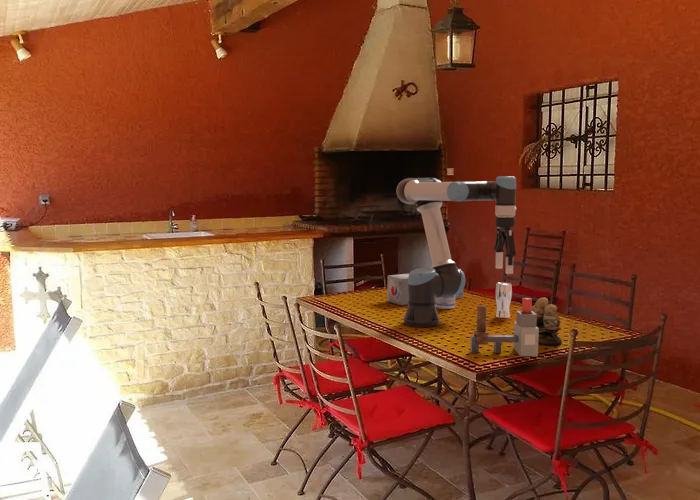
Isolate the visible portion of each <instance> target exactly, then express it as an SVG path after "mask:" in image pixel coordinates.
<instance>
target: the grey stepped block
mask: <svg viewBox="0 0 700 500" xmlns="http://www.w3.org/2000/svg"><path fill="white" fill-rule="evenodd" d="M513 322H514V323H513V335H517V336H518V342H513V350H514V351H515V352H516V353H517V354H518V356H520V357H538V356H539V344H538V337H539V328H538V327H537V326H536V324H537V314H536V313H534V312H533V311H531V314H522V310H516V321H513Z"/></svg>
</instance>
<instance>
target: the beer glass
mask: <svg viewBox="0 0 700 500" xmlns="http://www.w3.org/2000/svg"><path fill="white" fill-rule="evenodd" d="M495 286H496V287H495V301H496V307H497V308H496V314H495V316H496V318H498V319H499V318H500V319H509V318H510V317H511V313H510V305H511V300H512V295H513V290H512V289H513V288H512V283H510V282H497V283H496V284H495Z"/></svg>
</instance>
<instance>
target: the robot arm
mask: <svg viewBox="0 0 700 500" xmlns="http://www.w3.org/2000/svg"><path fill="white" fill-rule="evenodd" d="M495 179H496V180H495V181H492V180H491V181H490V180H489V181H488V180H480V181H461V180H460V181H459V180H458V181H441V180H440V179H437V178H436V177H408V178H404V179H402V180H400V182H399V183H398V185H397V186H396V191H395V192H396V196H397V199H399V201H400V202H402V203H404V204H407V205H415V206H416V211H418V212H419V213H420V214H421V219H422V222H423V227H424V232H425V236H426V240H427V246H428V248H429V250H428V251H429V254H430V258H431V263H432V264H431V267H420V268H415V269H413V270H410V272H409V273H408V274H409V277H408V305H407V308H406V310H405V314H404V317H403V325H405V326H409V327H413V328H431V327H436V326H437V327H438V326H439V325H440V316H439V313H438V310H437V307H436V306H435V300H436V298H437V297H445V296H453V295H457V294H459V293H461V292H462V290H463V291H464V289H465V285H466V276H465V272H464V271H462V269H461V268H458V266H457V262H455V261H454V260H452V254H451V251H450V245H449V243H448V242H449V241H448V239H447V234H446V229H445V224H444V220H443V217H442V211H441V208H442V206H443V201H447V202H470V201H472V202H474V201H476V202H478V201H479V202H481V201H494V202H495V211H494V213H495V214H494V215H495V219H494V220H495V221H494V225H495V227H497V228H496V235H495V241H494V247H493V249H494V250H495V269H498V270H499V269H503V267H504V266H503V264H504V262H503V261H504V257H505V273H504V274H506V275H513V274H514V257H515V256H516V255H517V254H516V245H515V237H514V236H515V235H514V230H512V229H511V228H514V227H516V217H515V216H516V211H517V207H516V204H517V203H516V202H517V200H516V199H517V178H516V177H515V176H513V175H512V176H510V175H509V176H507V175H505V176H503V175H500V176H497V177H496V178H495ZM504 248H505V250H504ZM504 251H505V252H506V253H505V255H504Z"/></svg>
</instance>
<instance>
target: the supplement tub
mask: <svg viewBox="0 0 700 500" xmlns="http://www.w3.org/2000/svg"><path fill="white" fill-rule="evenodd" d="M435 306H436V309H443V310H452V309H454V308H455V307H456V299H455V295H453V296H445V297H437V298H436V300H435Z"/></svg>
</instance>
